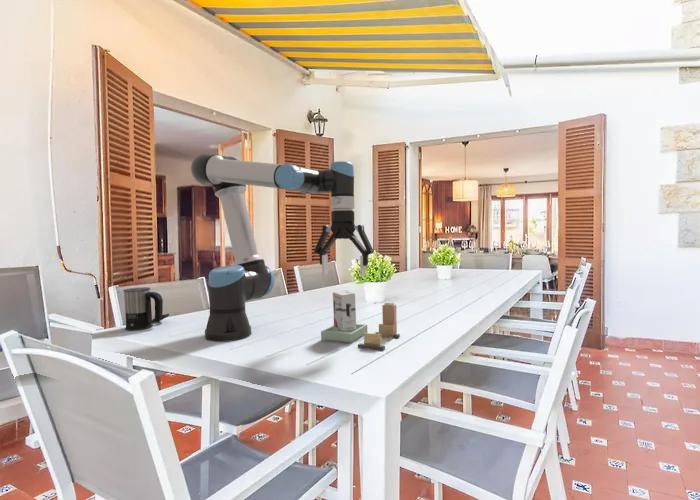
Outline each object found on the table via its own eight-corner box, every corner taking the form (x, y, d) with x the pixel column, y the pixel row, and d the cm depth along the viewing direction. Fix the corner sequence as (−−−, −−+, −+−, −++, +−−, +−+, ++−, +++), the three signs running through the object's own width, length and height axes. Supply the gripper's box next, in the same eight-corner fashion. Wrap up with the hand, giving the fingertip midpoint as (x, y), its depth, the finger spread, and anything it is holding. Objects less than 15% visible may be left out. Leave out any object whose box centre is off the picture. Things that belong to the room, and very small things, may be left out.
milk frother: (121, 331, 154) (119, 290, 153) (133, 322, 169) (131, 285, 168) (163, 329, 157) (162, 289, 156) (171, 320, 172) (170, 283, 172)
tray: (321, 340, 136) (321, 331, 136) (339, 331, 149) (339, 322, 149) (351, 343, 132) (351, 333, 132) (367, 333, 145) (367, 324, 145)
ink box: (333, 326, 143) (332, 291, 143) (346, 324, 145) (345, 290, 145) (342, 331, 136) (341, 294, 135) (356, 329, 137) (356, 293, 137)
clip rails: (364, 347, 128) (364, 333, 128) (379, 336, 140) (379, 323, 140) (380, 348, 126) (379, 334, 126) (394, 337, 138) (393, 325, 138)
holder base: (357, 347, 127) (357, 344, 127) (376, 335, 142) (376, 332, 142) (383, 350, 124) (383, 347, 124) (399, 337, 139) (399, 334, 139)
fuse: (382, 335, 142) (382, 303, 141) (385, 333, 144) (384, 301, 144) (394, 336, 140) (393, 303, 140) (396, 334, 143) (396, 302, 142)
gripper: (303, 210, 140) (304, 275, 141) (374, 208, 130) (375, 277, 131) (314, 211, 147) (315, 272, 148) (382, 209, 137) (383, 275, 138)
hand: (343, 275), depth 140 cm, fingers open, 13 cm apart
